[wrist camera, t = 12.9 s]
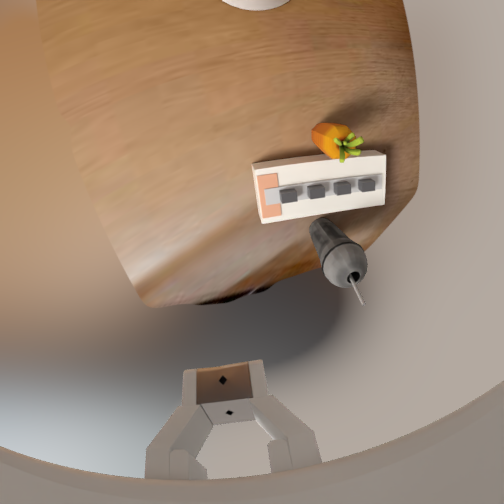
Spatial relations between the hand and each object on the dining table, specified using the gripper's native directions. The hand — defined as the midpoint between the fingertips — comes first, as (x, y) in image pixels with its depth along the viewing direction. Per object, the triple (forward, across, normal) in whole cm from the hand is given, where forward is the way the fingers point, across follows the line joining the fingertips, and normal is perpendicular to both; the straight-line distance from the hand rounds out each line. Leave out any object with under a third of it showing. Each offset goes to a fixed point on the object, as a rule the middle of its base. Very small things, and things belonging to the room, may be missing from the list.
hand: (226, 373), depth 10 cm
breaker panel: (+39, -16, +7) cm, 43 cm away
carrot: (+39, -16, -2) cm, 42 cm away
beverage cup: (+39, -16, +16) cm, 45 cm away
